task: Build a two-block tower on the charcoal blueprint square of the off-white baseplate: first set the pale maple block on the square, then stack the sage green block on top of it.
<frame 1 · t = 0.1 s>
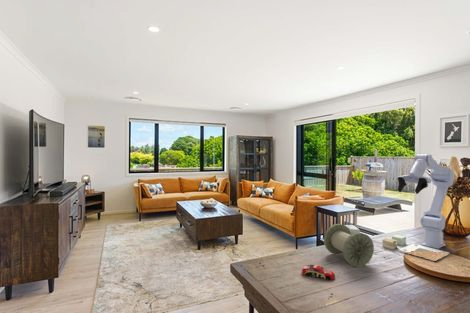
hand: (407, 191, 128), 32 cm above the table, tool tilted 50°, fingers open, 7 cm apart
spool: (347, 259, 127), on the table
baseplate: (423, 253, 134), on the table
sage block: (398, 243, 148), on the table
ink box: (351, 249, 141), on the table
maple block: (389, 247, 143), on the table
race car: (318, 276, 111), on the table
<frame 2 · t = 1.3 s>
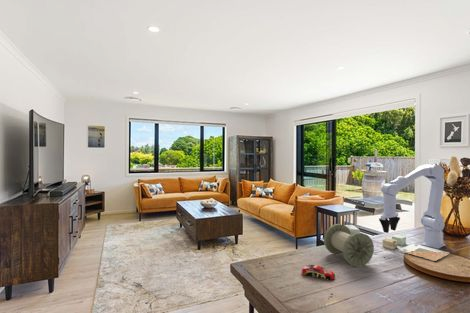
hand: (389, 231, 142), 9 cm above the table, tool pointing down, fingers open, 7 cm apart
nothing on the table moved.
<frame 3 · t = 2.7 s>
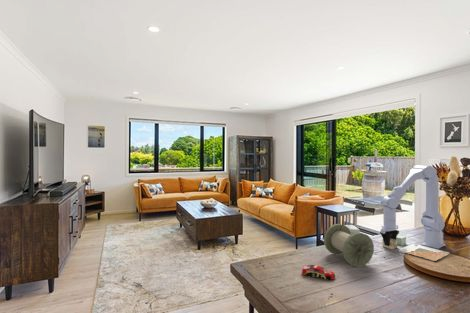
hand: (389, 244, 143), 1 cm above the table, tool pointing down, fingers closed on maple block, 5 cm apart
maple block: (389, 247, 143), on the table, touching gripper
everything else where it was.
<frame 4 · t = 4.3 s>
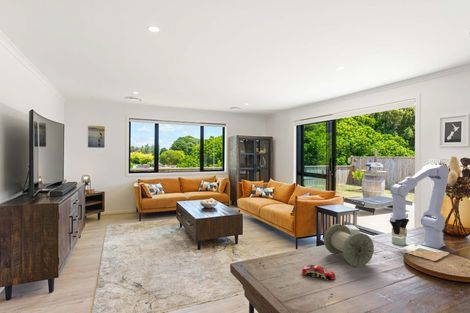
hand: (399, 233, 140), 8 cm above the table, tool pointing down, fingers closed on maple block, 5 cm apart
maple block: (399, 235, 140), point 7 cm above the table, touching gripper
everything else where it was.
when the fingers open (4 cm above the table, at t = 6.3 s): maple block drops 1 cm, resting on baseplate.
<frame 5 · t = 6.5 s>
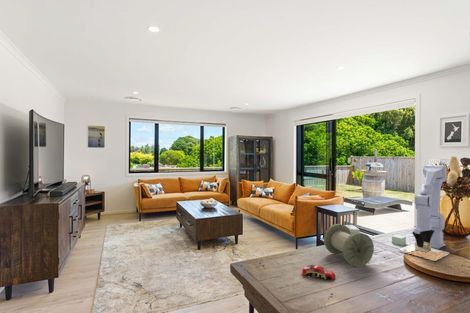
hand: (423, 245, 133), 4 cm above the table, tool pointing down, fingers open, 7 cm apart
maple block: (423, 250, 134), point 1 cm above the table, touching baseplate
everything else where it was.
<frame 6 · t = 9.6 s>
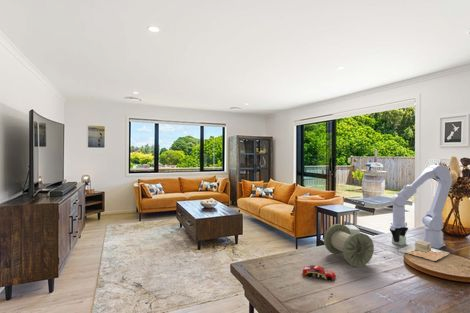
hand: (398, 240, 148), 1 cm above the table, tool pointing down, fingers closed on sage block, 5 cm apart
sage block: (398, 243, 148), on the table, touching gripper
everything else where it was.
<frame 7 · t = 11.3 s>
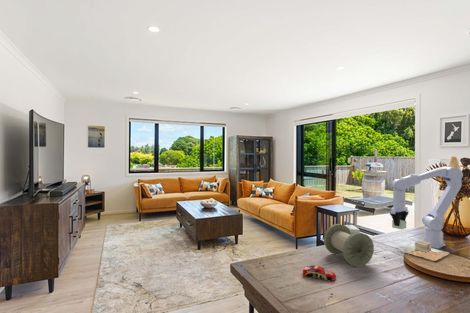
hand: (399, 225, 148), 10 cm above the table, tool pointing down, fingers closed on sage block, 5 cm apart
sage block: (399, 227, 148), point 9 cm above the table, touching gripper
everything else where it was.
when the fingers open (8 cm above the table, at t = 13.3 s): sage block stays where it is, resting on maple block.
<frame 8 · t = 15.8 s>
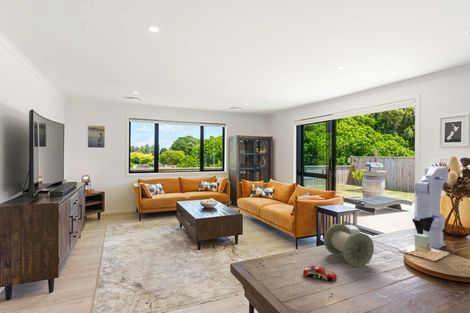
hand: (423, 232, 133), 10 cm above the table, tool pointing down, fingers open, 7 cm apart
sage block: (422, 242, 134), point 5 cm above the table, touching maple block
maple block: (423, 250, 134), point 1 cm above the table, touching baseplate, sage block
at the end: maple block 0.2 cm off-centre on the baseplate, point 1.1 cm above the baseplate's base; sage block 0.4 cm off-centre on the baseplate, point 5.1 cm above the baseplate's base; sage block tilted 0° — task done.
